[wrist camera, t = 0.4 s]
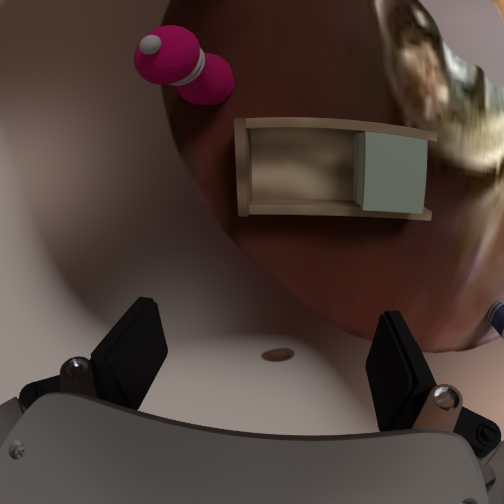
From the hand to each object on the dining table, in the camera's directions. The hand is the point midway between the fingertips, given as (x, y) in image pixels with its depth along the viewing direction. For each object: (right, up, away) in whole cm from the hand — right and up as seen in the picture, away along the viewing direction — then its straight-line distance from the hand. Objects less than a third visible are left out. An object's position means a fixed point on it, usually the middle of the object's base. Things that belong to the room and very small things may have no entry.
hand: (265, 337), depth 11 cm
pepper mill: (-6, +27, +22) cm, 35 cm away
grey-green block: (+17, +15, +22) cm, 32 cm away
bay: (+11, +15, +24) cm, 31 cm away
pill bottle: (+53, -9, +29) cm, 61 cm away
